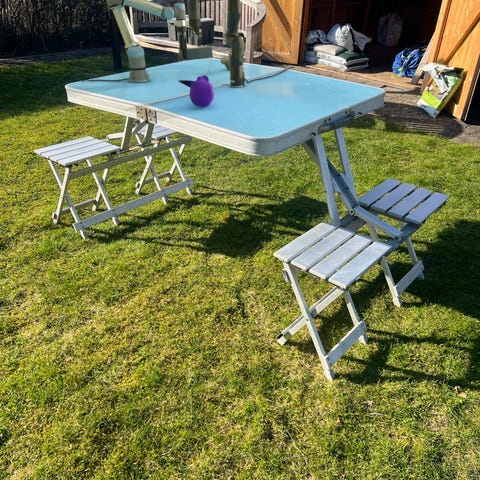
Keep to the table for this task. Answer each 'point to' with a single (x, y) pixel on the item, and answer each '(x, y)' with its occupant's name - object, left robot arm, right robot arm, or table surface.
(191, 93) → the toy
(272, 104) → the table surface
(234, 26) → the right robot arm
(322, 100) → the table surface
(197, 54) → the bar
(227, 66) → the teapot
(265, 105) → the table surface
